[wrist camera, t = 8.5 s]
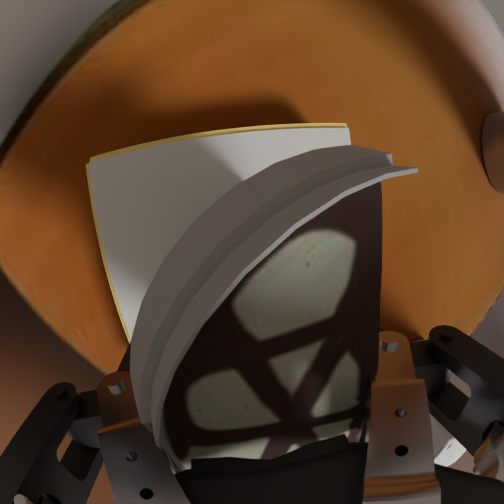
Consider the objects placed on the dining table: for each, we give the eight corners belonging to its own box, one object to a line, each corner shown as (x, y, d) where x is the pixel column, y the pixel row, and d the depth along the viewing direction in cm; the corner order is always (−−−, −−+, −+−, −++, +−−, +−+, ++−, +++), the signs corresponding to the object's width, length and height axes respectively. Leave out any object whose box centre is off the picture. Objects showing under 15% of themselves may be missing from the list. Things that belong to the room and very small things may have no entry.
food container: (126, 185, 12) (5, 192, 2) (251, 163, 13) (414, 136, 4) (182, 390, 15) (212, 535, 6) (275, 367, 16) (356, 489, 7)
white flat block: (322, 132, 17) (348, 122, 13) (331, 341, 21) (349, 370, 17) (110, 161, 16) (83, 158, 12) (160, 366, 20) (152, 400, 16)
